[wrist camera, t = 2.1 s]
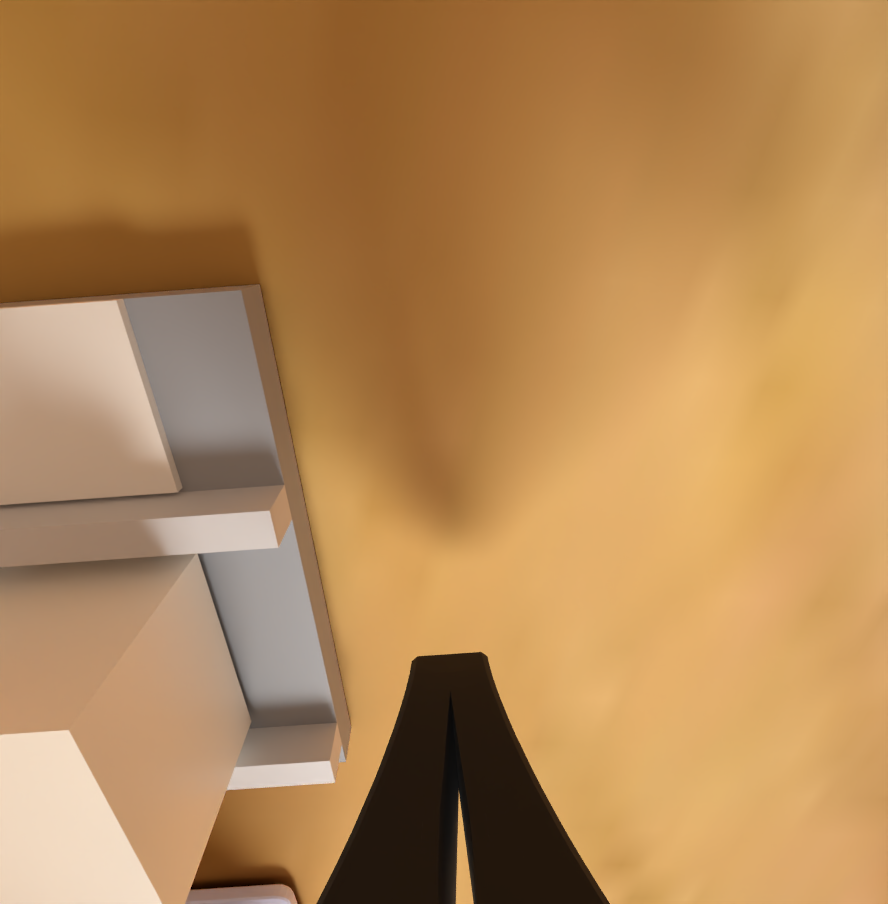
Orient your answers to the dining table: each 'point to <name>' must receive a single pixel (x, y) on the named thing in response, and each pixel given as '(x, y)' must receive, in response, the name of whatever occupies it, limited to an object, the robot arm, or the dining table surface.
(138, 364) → the gauge board
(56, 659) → the gauge slider
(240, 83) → the dining table surface
